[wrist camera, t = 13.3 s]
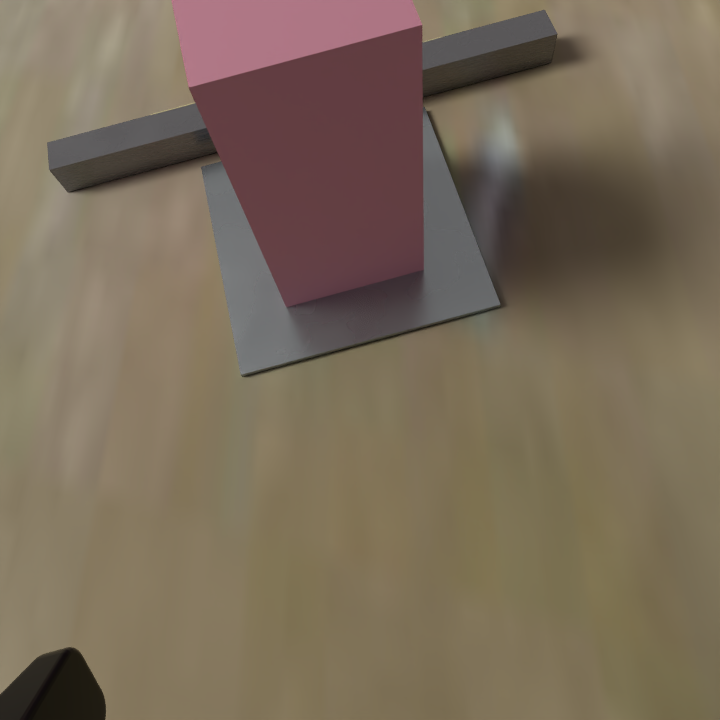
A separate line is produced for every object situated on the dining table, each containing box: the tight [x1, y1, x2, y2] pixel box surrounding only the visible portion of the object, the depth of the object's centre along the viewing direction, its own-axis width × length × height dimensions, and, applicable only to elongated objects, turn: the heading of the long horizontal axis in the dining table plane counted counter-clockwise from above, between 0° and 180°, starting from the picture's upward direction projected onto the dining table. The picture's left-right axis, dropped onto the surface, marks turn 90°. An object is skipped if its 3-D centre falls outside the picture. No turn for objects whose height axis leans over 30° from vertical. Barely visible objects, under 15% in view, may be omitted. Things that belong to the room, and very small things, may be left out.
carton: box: [172, 0, 424, 307], centre depth 21 cm, size 6×6×11 cm
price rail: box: [47, 10, 557, 377], centre depth 26 cm, size 22×12×2 cm, turn 104°
